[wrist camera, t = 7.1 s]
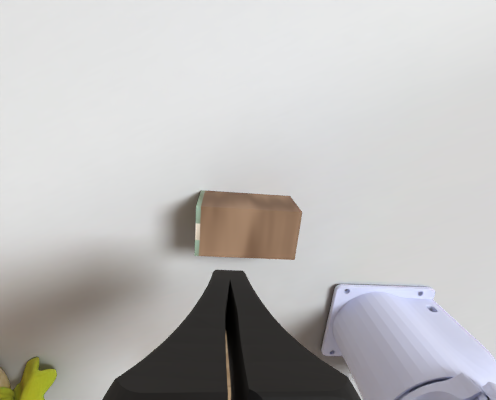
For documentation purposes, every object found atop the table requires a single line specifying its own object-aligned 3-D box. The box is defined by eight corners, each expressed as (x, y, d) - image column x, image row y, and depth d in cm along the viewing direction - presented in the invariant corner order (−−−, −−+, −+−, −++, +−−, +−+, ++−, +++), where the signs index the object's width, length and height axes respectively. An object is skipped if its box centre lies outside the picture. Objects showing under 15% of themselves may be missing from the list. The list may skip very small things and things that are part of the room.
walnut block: (201, 190, 21) (290, 196, 22) (199, 233, 22) (284, 237, 23) (196, 206, 17) (302, 212, 18) (194, 255, 19) (294, 259, 19)
